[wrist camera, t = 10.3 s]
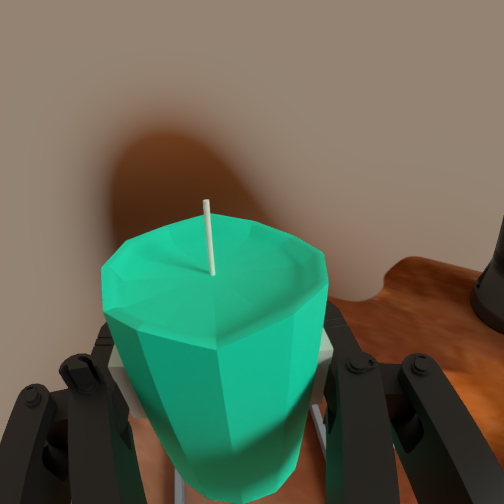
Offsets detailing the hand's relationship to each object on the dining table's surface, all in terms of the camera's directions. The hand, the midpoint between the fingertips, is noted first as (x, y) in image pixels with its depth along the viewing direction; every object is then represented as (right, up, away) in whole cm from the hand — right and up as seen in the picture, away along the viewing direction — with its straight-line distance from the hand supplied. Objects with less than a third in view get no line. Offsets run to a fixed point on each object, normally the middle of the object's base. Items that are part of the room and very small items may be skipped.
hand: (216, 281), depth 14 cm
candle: (+1, -8, -2) cm, 9 cm away
